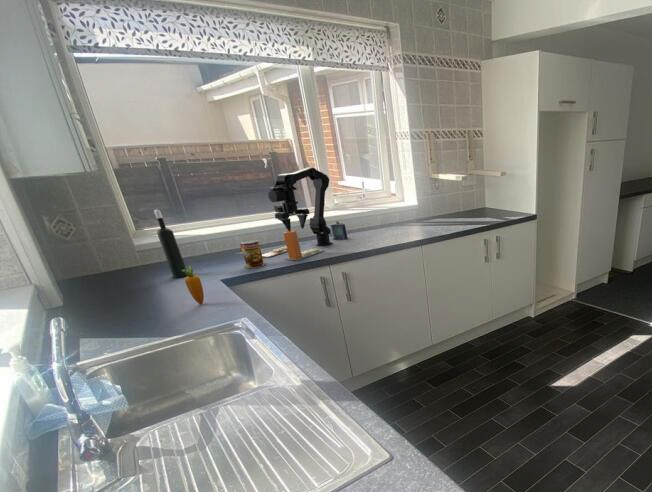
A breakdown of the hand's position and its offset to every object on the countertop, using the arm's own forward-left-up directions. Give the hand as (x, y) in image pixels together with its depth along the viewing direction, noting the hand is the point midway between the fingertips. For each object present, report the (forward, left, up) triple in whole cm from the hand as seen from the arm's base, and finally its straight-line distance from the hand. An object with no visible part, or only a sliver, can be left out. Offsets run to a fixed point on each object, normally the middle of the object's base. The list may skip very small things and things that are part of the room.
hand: (296, 229), depth 227 cm
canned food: (+28, -2, -12) cm, 31 cm away
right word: (+5, +8, -12) cm, 15 cm away
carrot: (+75, +24, -12) cm, 80 cm away
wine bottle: (+52, -22, -12) cm, 58 cm away
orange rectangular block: (+11, +8, -11) cm, 18 cm away
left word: (+5, -12, -12) cm, 18 cm away
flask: (-33, -1, -12) cm, 35 cm away
